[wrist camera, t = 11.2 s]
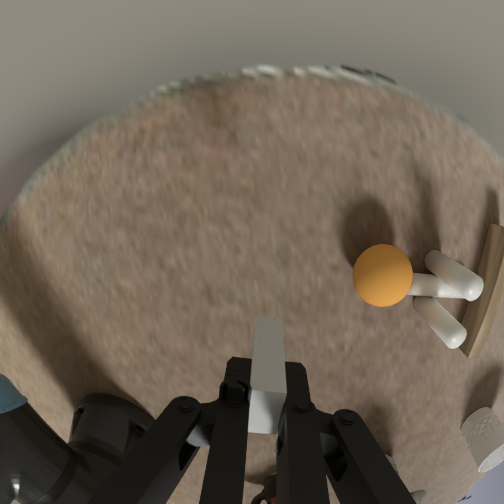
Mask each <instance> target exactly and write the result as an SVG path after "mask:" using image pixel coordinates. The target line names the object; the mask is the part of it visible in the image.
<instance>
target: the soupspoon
mask: <svg viewBox="0 0 504 504" xmlns="http://www.w3.org/2000/svg"><path fill="white" fill-rule="evenodd" d="M425 494H426V491H424V490H419V491H415V492H412V493H411V496H412V497H413V499H414V500H415V502H416V503H417V504H419V503H420V502H421V501H422V499H423V498H424V497H425Z"/></svg>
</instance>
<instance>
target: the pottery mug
mask: <svg viewBox="0 0 504 504" xmlns="http://www.w3.org/2000/svg"><path fill="white" fill-rule="evenodd" d="M262 500H266V501H267V504H277V474H275V475H273V476H270V477H268V478H267V479H266V480H265V481H264V489H263V490H262V492H261V493H260V494H258V495H257V496H255V497H254V498H253V500H252V502H251V504H260V503H261V501H262Z"/></svg>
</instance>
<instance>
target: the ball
mask: <svg viewBox="0 0 504 504" xmlns="http://www.w3.org/2000/svg"><path fill="white" fill-rule="evenodd" d="M412 279H413V271H412V266H411V263H410V261H409V259H408V257H407V256H406V255H405V253H404V252H403V251H401V250H400V249H399V248H397V247H395V246H392V245H388V244H378V245H374V246H371V247H369V248H368V249H366V250H365V251H364V252H363V253H361V255H360V256H359V257H358V259H357V260H356V263H355V265H354V269H353V283H354V286H355V289H356V291H357V293H358V294H359V296H360V297H361V298H362V299H363V300H364V301H366V302H367V303H369V304H371V305H374V306H379V307H385V306H390V305H393V304H395V303H397V302H399V301H400V300H402V299H403V298H404V297H405V295H406V294H407V293H408V291H409V289H410V287H411V284H412Z"/></svg>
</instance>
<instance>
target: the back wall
mask: <svg viewBox="0 0 504 504" xmlns="http://www.w3.org/2000/svg"><path fill="white" fill-rule="evenodd" d="M477 275H478V276H480V277H481V278H482V279H483V283H484V286H483V290H482V293H481V294H480V296H479V297H478V298H477V299H475V300H473V301H469V302H468V305H467V308H466V311H465V314H464V317H463V320H462V322H461V325H462V326H463V327H464V328H465V329H466V332H467V335H466V338H465V340H464V342H463V343H462V344H461V345H460V346H459V348H460V350H461V351H462V352H463V353H464V354H465V355H466V356H467V358H477V357H479V355H480V353H481V351H482V349H483V346H484V344H485V342H486V339H487V337H488V334H489V332H490V329H491V327H492V324H493V322H494V319H495V316H496V314H497V311H498V308H499V305H500V302H501V299H502V296H503V293H504V227H503V226H500V225H497V224H493V223H489V227H488V232H487V237H486V241H485V246H484V250H483V254H482V258H481V262H480V266H479V269H478V273H477Z"/></svg>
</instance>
